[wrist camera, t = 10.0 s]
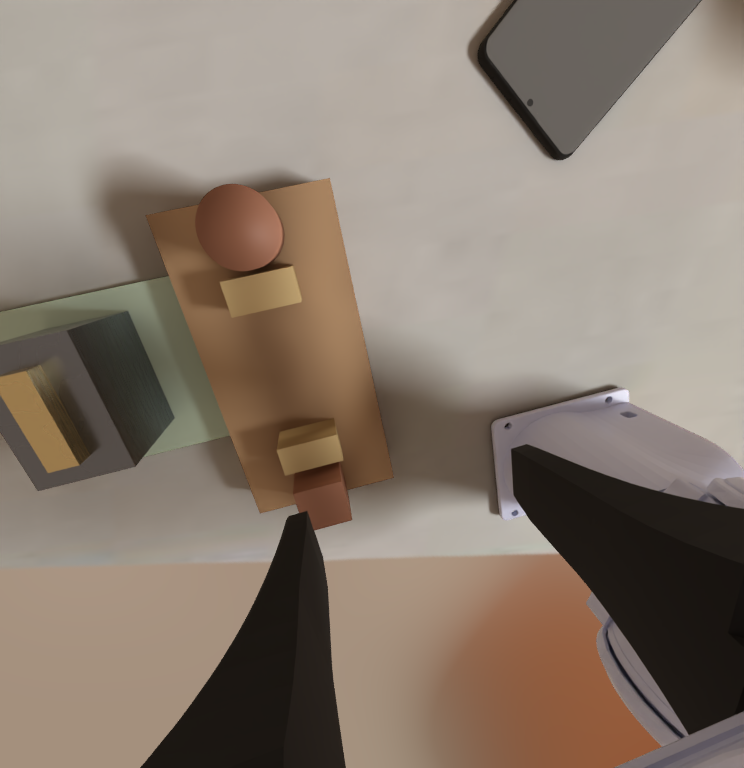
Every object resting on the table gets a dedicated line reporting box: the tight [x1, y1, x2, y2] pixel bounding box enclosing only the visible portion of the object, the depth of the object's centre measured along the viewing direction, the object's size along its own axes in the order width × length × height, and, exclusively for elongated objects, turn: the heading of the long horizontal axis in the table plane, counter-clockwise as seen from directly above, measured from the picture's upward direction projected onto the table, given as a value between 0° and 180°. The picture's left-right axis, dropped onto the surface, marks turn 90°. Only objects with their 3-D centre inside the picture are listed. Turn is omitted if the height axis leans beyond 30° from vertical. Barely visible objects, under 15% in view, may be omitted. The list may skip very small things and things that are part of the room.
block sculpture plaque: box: [146, 178, 394, 530], centre depth 19 cm, size 8×16×5 cm, turn 11°
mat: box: [0, 276, 230, 457], centre depth 20 cm, size 9×9×1 cm
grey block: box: [0, 311, 175, 491], centre depth 17 cm, size 4×6×6 cm, turn 11°
